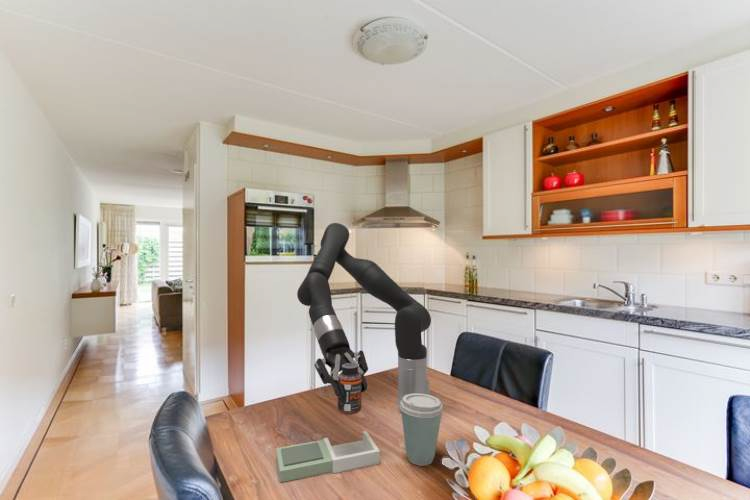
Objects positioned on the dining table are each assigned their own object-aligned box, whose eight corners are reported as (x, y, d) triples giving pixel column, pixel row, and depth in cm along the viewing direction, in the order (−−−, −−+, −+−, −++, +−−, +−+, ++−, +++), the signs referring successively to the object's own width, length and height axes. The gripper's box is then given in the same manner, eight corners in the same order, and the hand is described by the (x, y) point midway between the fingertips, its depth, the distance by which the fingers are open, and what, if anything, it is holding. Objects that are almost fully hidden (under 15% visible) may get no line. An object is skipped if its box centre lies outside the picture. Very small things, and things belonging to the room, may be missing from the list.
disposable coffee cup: (415, 442, 97) (414, 386, 97) (451, 457, 91) (451, 396, 91) (391, 460, 89) (390, 399, 89) (429, 478, 82) (429, 411, 82)
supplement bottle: (352, 418, 88) (352, 370, 88) (332, 412, 91) (332, 366, 91) (366, 408, 93) (366, 364, 93) (347, 403, 96) (347, 360, 96)
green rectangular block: (324, 449, 94) (324, 437, 94) (333, 471, 85) (333, 458, 85) (276, 458, 90) (276, 446, 90) (280, 482, 81) (280, 469, 81)
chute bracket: (366, 441, 98) (366, 430, 98) (379, 463, 88) (379, 451, 88) (323, 449, 94) (323, 438, 94) (333, 473, 84) (333, 460, 84)
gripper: (348, 339, 106) (371, 394, 97) (302, 347, 98) (322, 407, 88) (358, 324, 102) (383, 380, 92) (310, 331, 94) (332, 393, 84)
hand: (353, 393), depth 90 cm, fingers closed on supplement bottle, 6 cm apart
